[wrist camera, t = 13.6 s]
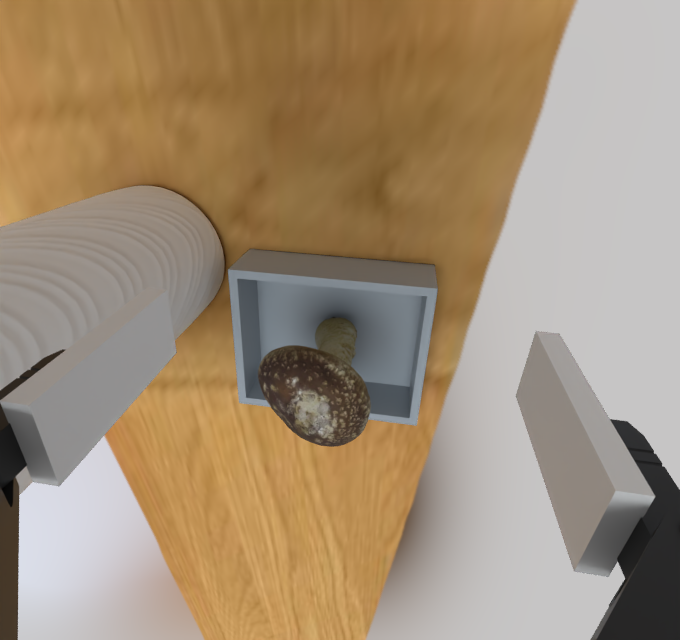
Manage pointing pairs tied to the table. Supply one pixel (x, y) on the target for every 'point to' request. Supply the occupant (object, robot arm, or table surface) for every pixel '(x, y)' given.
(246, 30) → the table surface
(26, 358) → the vase
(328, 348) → the mushroom
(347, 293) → the bin
